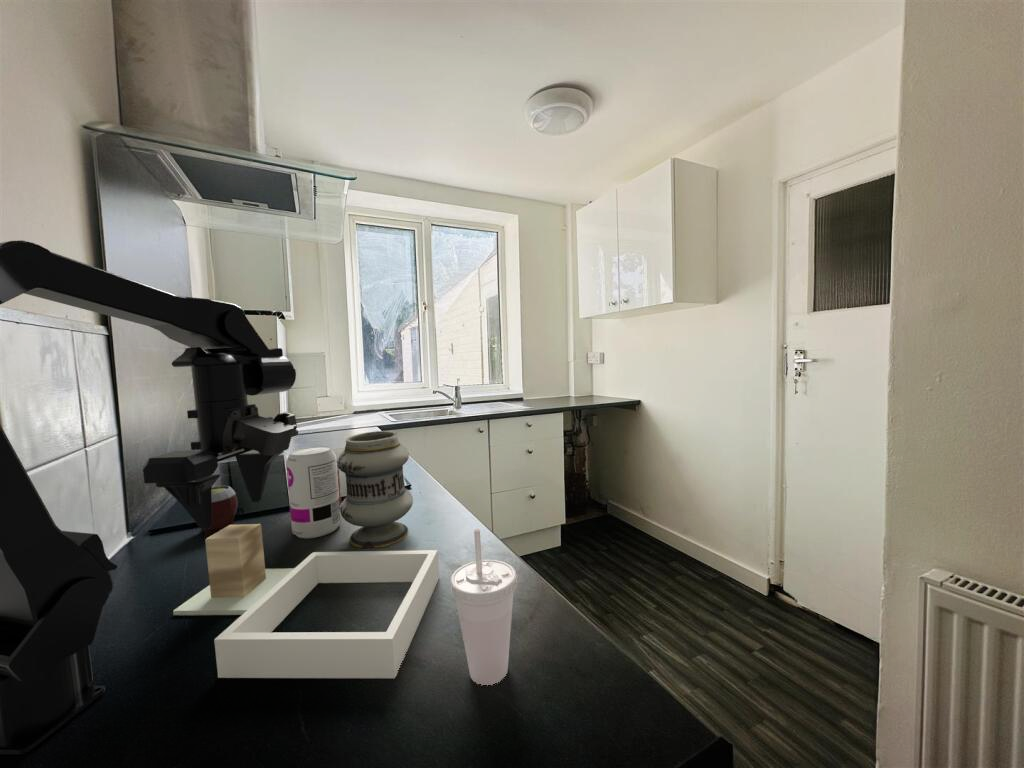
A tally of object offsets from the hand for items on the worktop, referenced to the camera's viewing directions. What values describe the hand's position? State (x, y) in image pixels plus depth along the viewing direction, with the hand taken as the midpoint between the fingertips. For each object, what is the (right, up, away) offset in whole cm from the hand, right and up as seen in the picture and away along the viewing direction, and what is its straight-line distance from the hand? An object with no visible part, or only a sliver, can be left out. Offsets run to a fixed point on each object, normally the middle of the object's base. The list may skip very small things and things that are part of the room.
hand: (233, 514), depth 56 cm
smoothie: (+36, -11, -16) cm, 40 cm away
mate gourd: (-18, -11, +22) cm, 30 cm away
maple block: (+1, -10, +1) cm, 10 cm away
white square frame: (+18, -11, -7) cm, 22 cm away
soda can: (-2, -9, +31) cm, 32 cm away
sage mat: (+1, -11, +1) cm, 11 cm away
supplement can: (+2, -10, +21) cm, 23 cm away
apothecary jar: (+15, -9, +17) cm, 24 cm away
